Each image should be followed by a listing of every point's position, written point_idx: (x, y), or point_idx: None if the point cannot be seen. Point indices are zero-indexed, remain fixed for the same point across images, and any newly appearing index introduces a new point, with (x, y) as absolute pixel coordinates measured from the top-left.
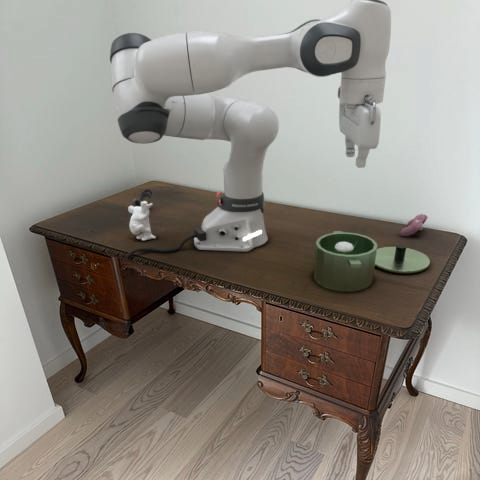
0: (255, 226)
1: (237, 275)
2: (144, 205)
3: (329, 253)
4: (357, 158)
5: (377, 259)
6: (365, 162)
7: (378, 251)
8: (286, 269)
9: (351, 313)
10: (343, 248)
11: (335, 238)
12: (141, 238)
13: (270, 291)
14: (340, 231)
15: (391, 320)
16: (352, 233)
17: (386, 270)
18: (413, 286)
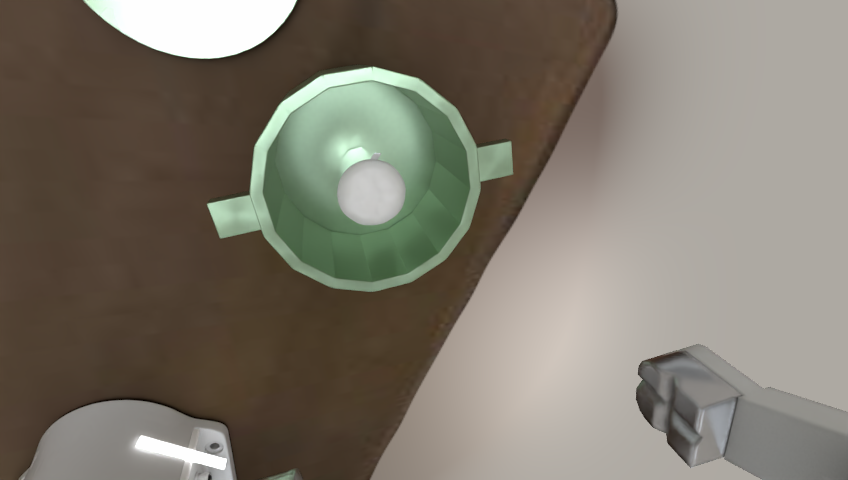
0: (153, 471)
1: (373, 405)
2: None
3: (456, 243)
4: (744, 457)
5: (216, 28)
6: (731, 367)
7: (123, 10)
8: (322, 312)
9: (545, 142)
10: (402, 198)
11: (277, 223)
12: None
13: (446, 326)
14: (214, 209)
15: (581, 43)
16: (258, 164)
17: (295, 4)
18: None
